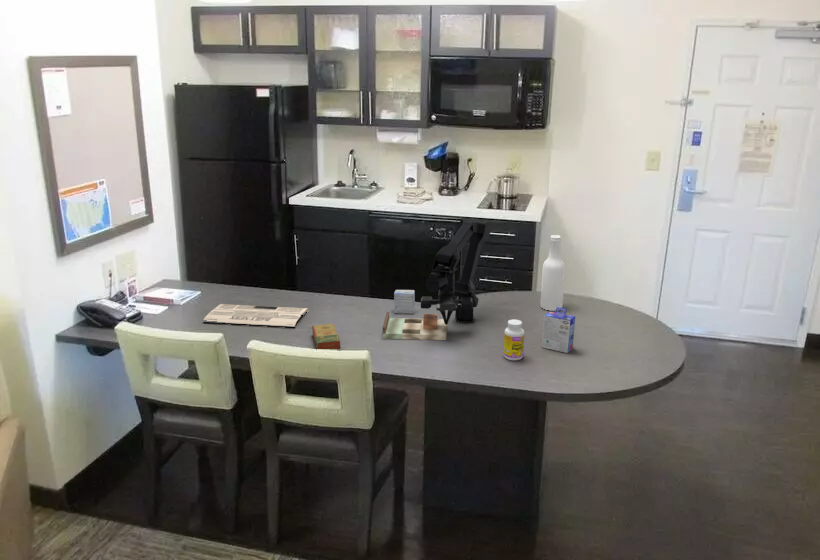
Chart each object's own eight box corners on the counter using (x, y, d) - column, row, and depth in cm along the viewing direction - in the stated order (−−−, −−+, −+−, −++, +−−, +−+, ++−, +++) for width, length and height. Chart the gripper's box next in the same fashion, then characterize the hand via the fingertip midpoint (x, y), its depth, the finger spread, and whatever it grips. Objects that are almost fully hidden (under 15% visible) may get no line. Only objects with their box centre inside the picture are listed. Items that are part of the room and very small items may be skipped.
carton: (334, 333, 249) (334, 322, 248) (341, 351, 234) (340, 340, 233) (312, 335, 247) (311, 325, 246) (317, 353, 233) (316, 342, 231)
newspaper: (308, 312, 270) (308, 306, 269) (293, 331, 252) (293, 324, 251) (222, 308, 275) (221, 302, 274) (201, 326, 257) (200, 319, 256)
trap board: (446, 324, 256) (446, 313, 254) (446, 340, 242) (446, 328, 240) (386, 322, 257) (386, 312, 256) (382, 338, 243) (382, 327, 242)
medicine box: (415, 310, 270) (414, 289, 267) (414, 314, 266) (413, 293, 263) (395, 309, 271) (395, 289, 268) (394, 313, 267) (393, 293, 264)
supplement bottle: (509, 362, 224) (511, 327, 220) (499, 354, 229) (501, 320, 225) (526, 358, 226) (528, 323, 222) (516, 351, 232) (518, 317, 228)
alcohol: (539, 303, 276) (543, 232, 266) (561, 304, 275) (566, 233, 265) (540, 311, 267) (544, 238, 258) (563, 312, 266) (568, 239, 257)
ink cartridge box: (573, 348, 234) (576, 309, 229) (568, 354, 230) (571, 314, 225) (546, 342, 239) (549, 304, 234) (541, 347, 235) (543, 309, 230)
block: (437, 324, 251) (437, 314, 249) (436, 329, 246) (436, 319, 245) (423, 323, 251) (423, 313, 250) (423, 329, 246) (423, 318, 245)
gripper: (419, 291, 236) (420, 332, 241) (473, 292, 235) (472, 333, 240) (421, 281, 246) (421, 320, 251) (472, 281, 245) (471, 321, 250)
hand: (446, 324), depth 248 cm, fingers closed
